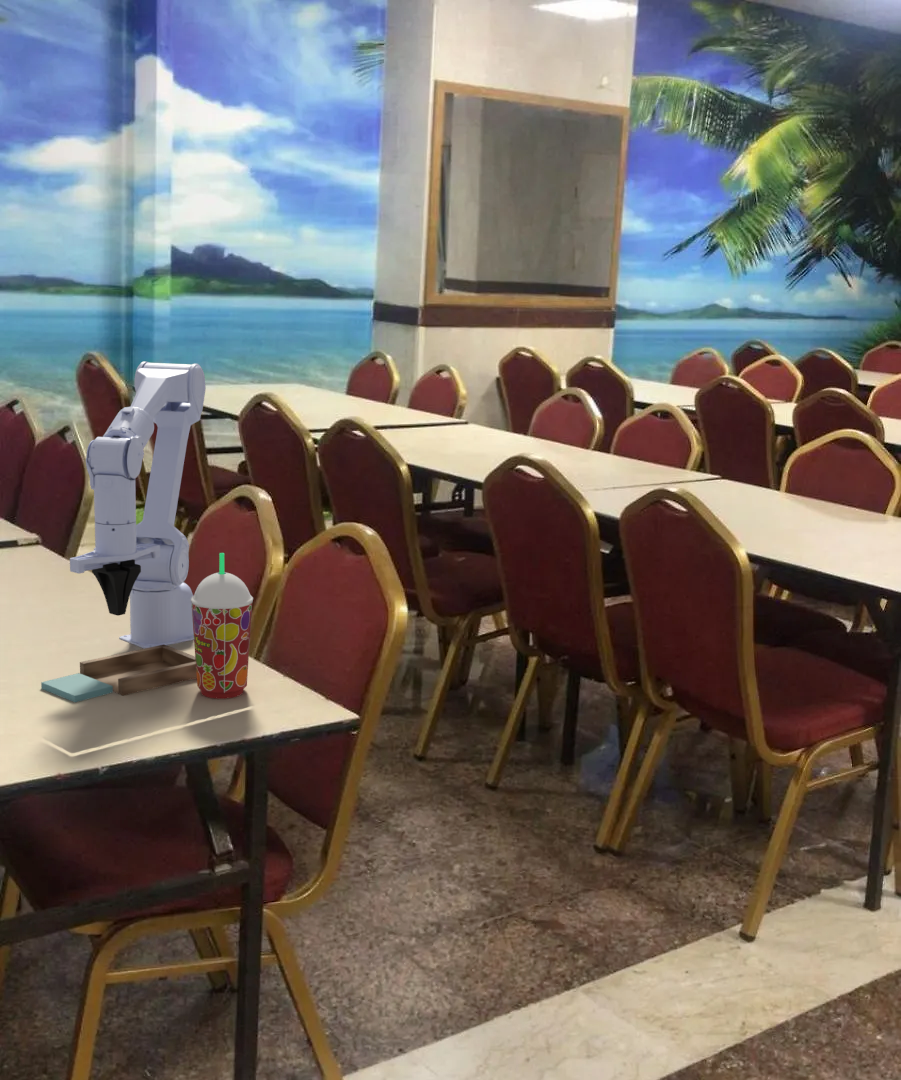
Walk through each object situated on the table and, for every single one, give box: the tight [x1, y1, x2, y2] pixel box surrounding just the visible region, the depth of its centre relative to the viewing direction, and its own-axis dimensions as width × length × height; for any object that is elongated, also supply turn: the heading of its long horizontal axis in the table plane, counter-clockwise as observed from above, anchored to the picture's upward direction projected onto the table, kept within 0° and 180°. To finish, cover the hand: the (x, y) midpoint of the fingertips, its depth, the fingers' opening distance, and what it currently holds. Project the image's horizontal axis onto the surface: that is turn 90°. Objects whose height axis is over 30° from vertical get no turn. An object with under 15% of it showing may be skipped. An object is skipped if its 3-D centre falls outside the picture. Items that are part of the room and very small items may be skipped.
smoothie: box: [191, 552, 254, 700], centre depth 182 cm, size 8×8×20 cm
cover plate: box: [40, 672, 114, 703], centre depth 182 cm, size 6×8×2 cm
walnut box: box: [79, 645, 197, 696], centre depth 189 cm, size 14×11×2 cm
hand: (117, 613), depth 192 cm, fingers closed
